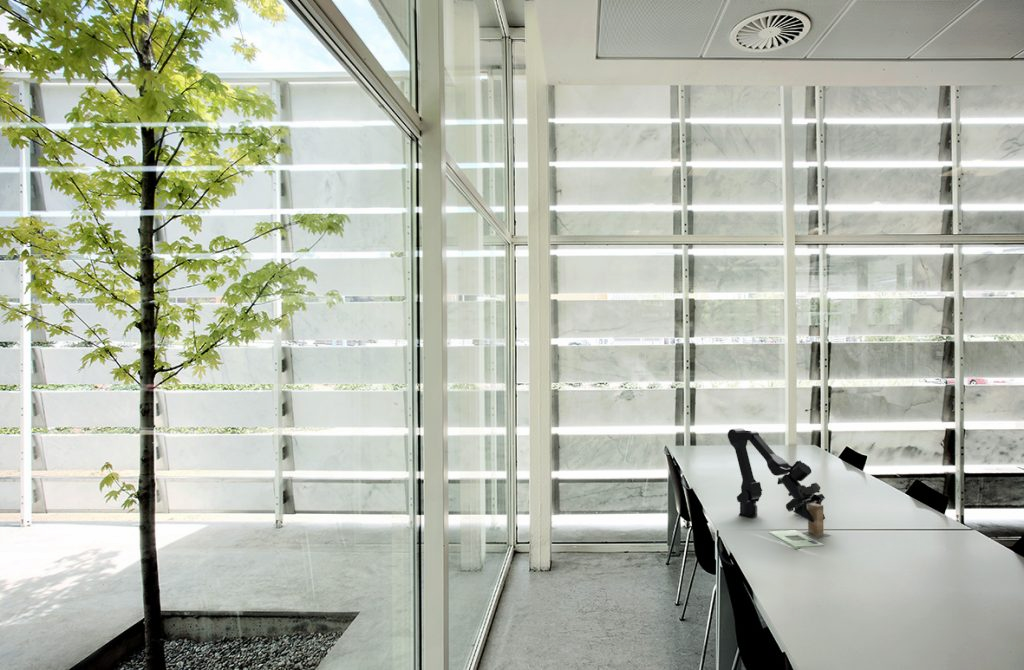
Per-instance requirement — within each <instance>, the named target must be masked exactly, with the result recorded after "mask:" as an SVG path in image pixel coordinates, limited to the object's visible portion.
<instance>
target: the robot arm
mask: <svg viewBox="0 0 1024 670" xmlns="http://www.w3.org/2000/svg"><path fill="white" fill-rule="evenodd" d="M727 439H728V441H729V443H730V445H731V446H732V447H733V448H734V451H735V455H736V458H737V462H738V467H739V470H740V475H741V479H742V482H741V485H740V490H741V492H740V493H739V494H738V495H737V496H736V501H737V502H738V503H739V513H738V516H739V517H747V518H752V519H754V518H755V517H756V516H758V505H757V502H759V501H760V498H761V497H762V494H763V489H762V486H761V482H760V481H756V479H755V477H754V474H753V473H754V472H753V469H752V465H751V461H750V458H749V454H748V449H747V445H748V441H749V443H751V444H752V446H753V447H754V448H755V449H756V451H757V452H758V453H759V454H760V455H761V456H762V457H763V459H764V460H765V462H766V465H767V466H766V467H767V468H768V470H769V471H770V472H771V474H772V475H773V476H776V477H777V476H781V477H777V482H776V483H777V485H783V486H784V488H785V489H786V490H787V491H788V493H787V495H788V496H789V497H792V499H791V500H789V502H787V503H786V504H785V508H786V510H787V511H788V512H793V513H794V514H795V513H797V514H799V515H801V516H800V517H803V518H805V519H806V520H807V521H808V520H809V521H811V522H814V519H813V517H812V516H811V514H810V512H809V511H808V509H807V504H813V503H816V504H819V505H822V502H823V500H825V499H826V497H825V496H824V494H823V493H821V491H820V490H821V486H820V485H819V484H818V483H817V482H812V483H811V484H810V485H809V486H806V485H805V484H801V483H800V482H803V481H804V480H805V479H806V478H807V477H808V476H809V475H811V473H812V468H811V467H810V466H809V465H807V464H806V463H805V462H802V461H801V460H796V462H795V463H794V464H793V465H792V464H789V463H788V462H787V461H786V460H785V459H784V458H783V457H781V456H779V455H777V454H776V453H775V452H774V451H773V450H772V449H771V447H770V446H769V445H768V444H767V443H766V441H764V439H763V438H762V437H761V435H760V434H759V432H758V431H754V430H746V429H744V428H742V427H741V428H731V429H729V431H728V432H727ZM813 494H814V495H813ZM812 495H813V496H812ZM811 496H812V497H811ZM810 497H811V498H810ZM825 519H826V517H825V514H824V513H823V521H825Z"/></svg>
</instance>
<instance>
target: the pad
mask: <svg viewBox="0 0 1024 670" xmlns="http://www.w3.org/2000/svg"><path fill="white" fill-rule="evenodd" d="M801 533H802V534H804V535H806V536H808V537H810V538H815V539H818V540H821V539H824V538H829V537H831V536H832V535H830V534H828V533H824V535H822V536H818V537H817V536H814V535H810V534H808V531H806V532H801Z"/></svg>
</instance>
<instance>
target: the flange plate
mask: <svg viewBox="0 0 1024 670" xmlns="http://www.w3.org/2000/svg"><path fill="white" fill-rule="evenodd" d="M768 533H769V534H770V535H772V536H774V537H776V538H778V539H780V540H781V541H783V542H784V543H786V545H788V546H790V547H791V548H792V549H795V550H800V549H801V550H802V548H808V547H809V548H811V547H824V546H825V544H824V543H821V542H819V541H817V540H816V539H813V537H811V536H807V535H804V534H802V533H803V532H800V531H798V530H796V529H789V530H773V531H771V530H770V531H768ZM789 537H799V539H801V540H792V539H790V538H789Z"/></svg>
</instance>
